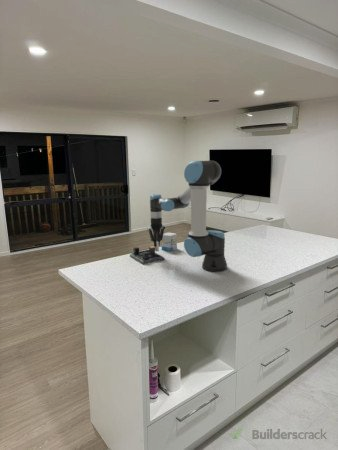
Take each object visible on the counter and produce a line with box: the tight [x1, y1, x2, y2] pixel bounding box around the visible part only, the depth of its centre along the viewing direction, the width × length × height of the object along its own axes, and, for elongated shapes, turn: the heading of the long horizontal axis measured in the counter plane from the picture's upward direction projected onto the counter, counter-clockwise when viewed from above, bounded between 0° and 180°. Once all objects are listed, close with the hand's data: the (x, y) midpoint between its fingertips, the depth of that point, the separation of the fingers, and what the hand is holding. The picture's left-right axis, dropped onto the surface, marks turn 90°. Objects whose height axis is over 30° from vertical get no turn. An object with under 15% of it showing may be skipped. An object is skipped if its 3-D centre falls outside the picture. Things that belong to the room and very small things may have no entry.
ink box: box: [161, 232, 178, 252], centre depth 234 cm, size 8×8×12 cm
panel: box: [129, 246, 166, 265], centre depth 214 cm, size 20×16×6 cm
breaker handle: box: [148, 245, 156, 255], centre depth 216 cm, size 3×3×5 cm
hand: (157, 250), depth 218 cm, fingers closed
